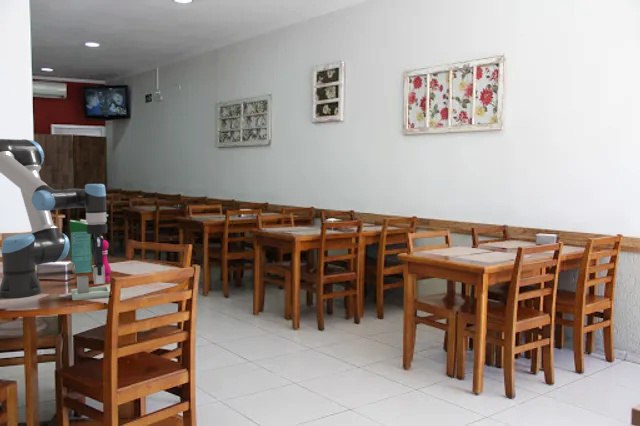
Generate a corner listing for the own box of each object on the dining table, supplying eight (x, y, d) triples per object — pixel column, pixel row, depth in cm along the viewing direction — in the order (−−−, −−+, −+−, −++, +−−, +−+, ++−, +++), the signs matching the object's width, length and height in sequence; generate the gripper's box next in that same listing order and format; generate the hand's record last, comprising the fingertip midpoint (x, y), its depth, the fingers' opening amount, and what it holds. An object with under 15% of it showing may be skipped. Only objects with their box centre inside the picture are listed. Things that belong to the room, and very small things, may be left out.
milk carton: (92, 272, 284) (90, 220, 282) (71, 273, 280) (69, 220, 278) (92, 269, 292) (90, 218, 290) (72, 270, 289) (70, 219, 287)
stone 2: (105, 283, 234) (104, 265, 233) (94, 284, 232) (93, 266, 231) (104, 281, 237) (103, 264, 237) (93, 282, 236) (92, 265, 235)
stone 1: (89, 295, 232) (88, 277, 231) (77, 296, 230) (77, 278, 229) (88, 293, 235) (87, 275, 235) (77, 294, 234) (76, 276, 233)
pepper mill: (105, 283, 259) (103, 237, 257) (90, 282, 260) (88, 237, 258) (114, 279, 266) (112, 235, 264) (99, 279, 267) (98, 234, 265)
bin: (72, 300, 226) (72, 294, 226) (71, 294, 236) (71, 289, 236) (111, 296, 232) (111, 291, 232) (108, 291, 242) (108, 286, 242)
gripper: (108, 224, 226) (111, 285, 228) (105, 221, 242) (107, 277, 244) (87, 225, 223) (90, 287, 225) (85, 222, 239) (87, 279, 241)
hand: (99, 282), depth 235 cm, fingers closed on stone 2, 4 cm apart
